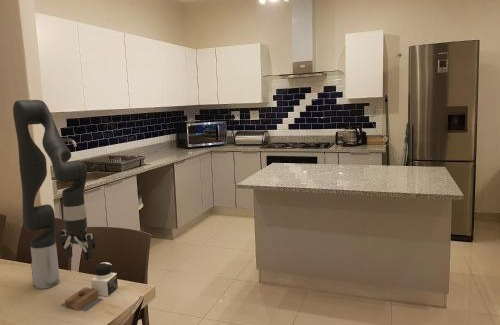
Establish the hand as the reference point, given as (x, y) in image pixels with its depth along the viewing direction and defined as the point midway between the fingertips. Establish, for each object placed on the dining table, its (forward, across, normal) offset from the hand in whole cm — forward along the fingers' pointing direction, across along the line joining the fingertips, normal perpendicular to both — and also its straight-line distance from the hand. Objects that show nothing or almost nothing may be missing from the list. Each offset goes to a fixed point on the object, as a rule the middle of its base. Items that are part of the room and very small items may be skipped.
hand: (78, 259), depth 146 cm
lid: (+17, 0, 0) cm, 17 cm away
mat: (+18, 0, 0) cm, 18 cm away
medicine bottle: (+18, +2, +10) cm, 21 cm away
